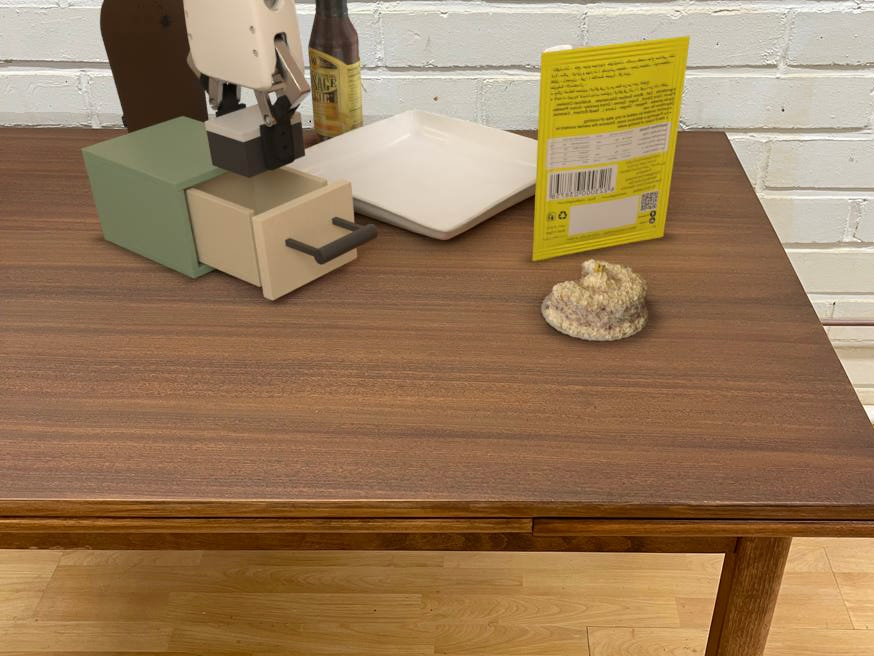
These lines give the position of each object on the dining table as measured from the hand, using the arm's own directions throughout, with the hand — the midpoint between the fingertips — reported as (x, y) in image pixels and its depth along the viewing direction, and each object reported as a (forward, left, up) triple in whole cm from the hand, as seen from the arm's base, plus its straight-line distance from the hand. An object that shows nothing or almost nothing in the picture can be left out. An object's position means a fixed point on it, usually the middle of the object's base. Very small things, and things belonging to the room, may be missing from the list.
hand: (258, 156), depth 88 cm
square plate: (+25, +1, -12) cm, 28 cm away
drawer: (0, -2, -10) cm, 11 cm away
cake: (+12, -30, -12) cm, 34 cm away
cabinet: (0, +12, -11) cm, 16 cm away
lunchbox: (0, 0, 0) cm, 0 cm away
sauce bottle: (+30, +20, -12) cm, 38 cm away
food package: (+24, -23, -12) cm, 35 cm away
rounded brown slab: (+13, +32, -12) cm, 36 cm away
